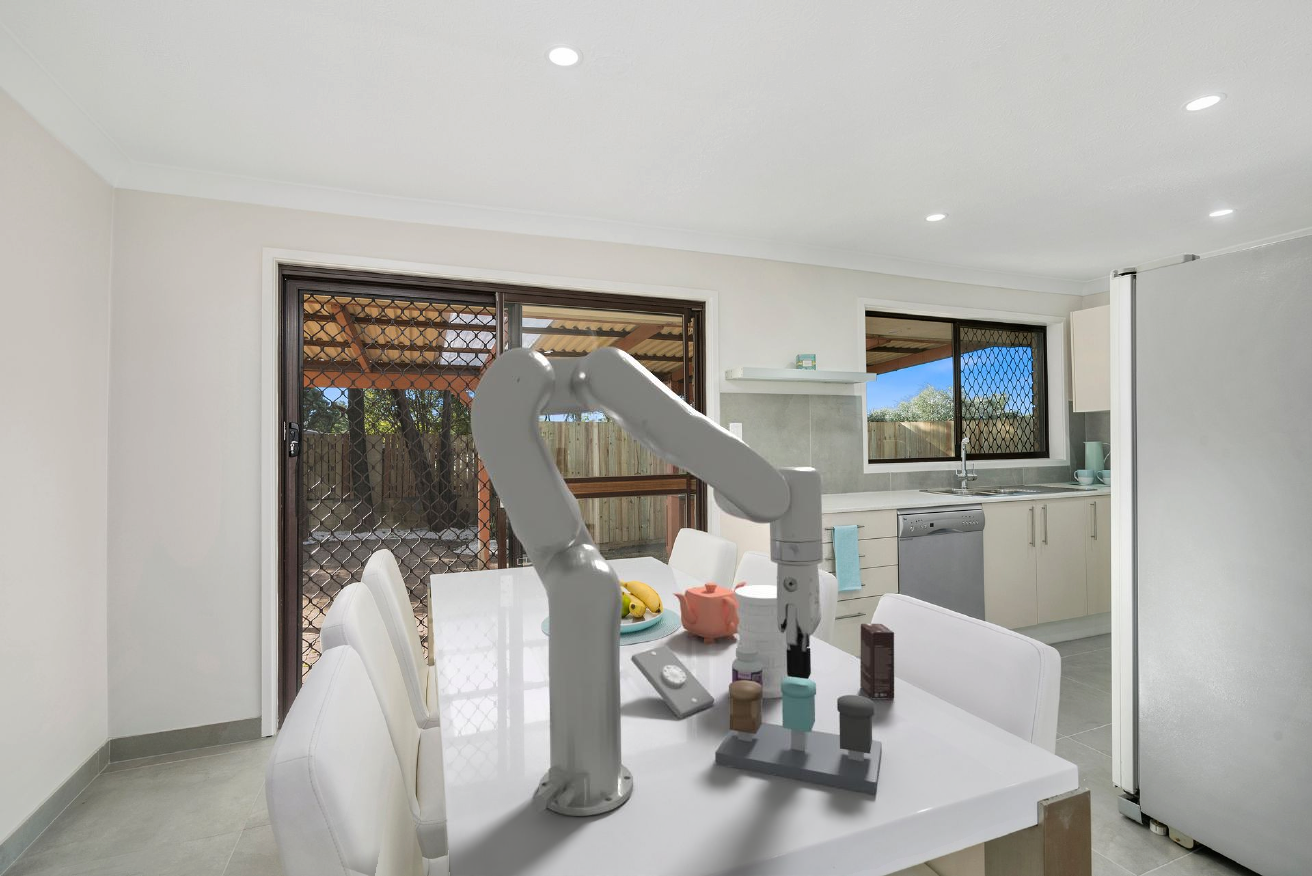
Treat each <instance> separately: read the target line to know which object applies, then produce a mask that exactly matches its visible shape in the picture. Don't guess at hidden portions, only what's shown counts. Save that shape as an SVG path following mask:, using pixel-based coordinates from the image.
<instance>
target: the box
mask: <svg viewBox="0 0 1312 876" xmlns="http://www.w3.org/2000/svg"><path fill="white" fill-rule="evenodd" d="M859 662H860V667H859V668H860V676H859V677H860V682H859V683H860V686H859V687H860V688H861V689H862V690H863V691H864V692H865V693H866V694H867V695H868V696H869V697H870V698H871V699H872V700H874V701H875V700H891V699H895V632H894V631H893V630H891V629H890V628H888V627H887V626H885V625H884V624H882V623H861V624H860V661H859Z"/></svg>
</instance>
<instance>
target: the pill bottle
mask: <svg viewBox="0 0 1312 876" xmlns="http://www.w3.org/2000/svg"><path fill="white" fill-rule="evenodd" d="M758 657H759V653H758V649H757V648H755V647H751V646H741V647H736V648H735V659H734V660H733V661H732V665H731V683H732V682H735V681H741V680H746V681H753V682H757V683H759V684H760V685H761V686H762V703H763V699H764V698H763V679H762V663H761V662H760V661H759V660H758Z"/></svg>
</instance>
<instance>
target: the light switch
mask: <svg viewBox="0 0 1312 876" xmlns="http://www.w3.org/2000/svg"><path fill="white" fill-rule="evenodd" d="M630 660H631V662H632V663H633V664H634V665H635V666H636V668H637V669H638V671H639V672H640V673H641V674H642V675H643V676H644V677H645V679H646V680H647V681H648V682H649V684H650V685H651V687H653V689H654V690H655V691H656V692H657V693H658V695H659V696H660V697H661V699H662V700H663V701H664V702H665V703H666V704H667V705H668V707H669V708H670V709H671V710H672V712H674V714H675V715H676V716H677V717H678V718H679V719H683V718H685V717H687V716H689V715H692V714H695V713H697V712H699V711H701V710H704V709H706V708H708V707H710V706H713V705H714V703H715V701H716V699H715V698H714V697H713V695H711V693H710V692H709V691H708V690H707V689H706V688H705V687H704V686H703V685H702V683H701V682H700V681H699V680H698V679H697V678H696V677H695V676H694V675H693V674H692V672H691V671H690V670H689V669H688V668H687V667H686V666H685V664H683V663H684V662H683V663H682V661H681V660H680V658H678V657H677V656H676V654H674V652H673V651H672V650H671V649H670V648H669V646H667V645H666V644H664V645H660V646H658V647H654V648H651V649H649V650H644V651H642V652H637V653H636V654H632V655H631V658H630ZM698 710H699V711H698ZM682 717H683V718H682Z"/></svg>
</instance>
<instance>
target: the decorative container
mask: <svg viewBox="0 0 1312 876" xmlns="http://www.w3.org/2000/svg"><path fill="white" fill-rule="evenodd" d="M735 599H736V600H737V601H739V607H738V609H737V616H738V618H739V624H738V627H737V631H738V633H737V634H738V637H739V638H738V641H737V645H736V646H737V647H736V648H738V647H741V646H751V647H755V648H757V649H758V653H759V657H758V660H759V661H760V662H761V663H762V679H763V699H779V698H782V694H783V693H782V692H781V681H782V680H783V679H785V678H789V676H788V675H787V650H786V649H787V643H786V630H785V631H784V633H782V632H780V631H779V629H778V623H777V585H770V584H755V585H754V584H753V585H744V586H743V587H740V588H737V589H736V590H735Z"/></svg>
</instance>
